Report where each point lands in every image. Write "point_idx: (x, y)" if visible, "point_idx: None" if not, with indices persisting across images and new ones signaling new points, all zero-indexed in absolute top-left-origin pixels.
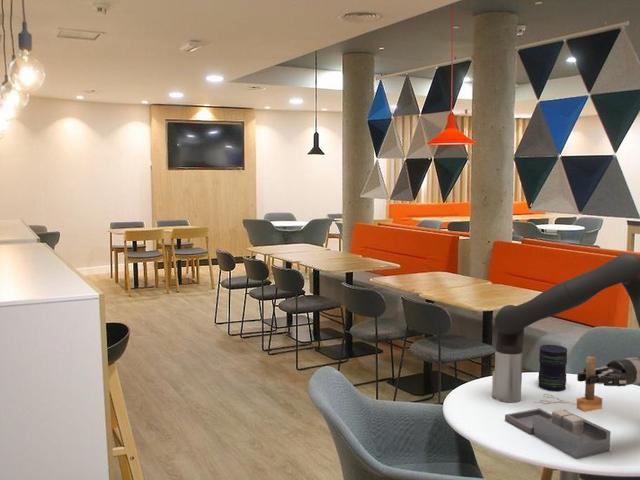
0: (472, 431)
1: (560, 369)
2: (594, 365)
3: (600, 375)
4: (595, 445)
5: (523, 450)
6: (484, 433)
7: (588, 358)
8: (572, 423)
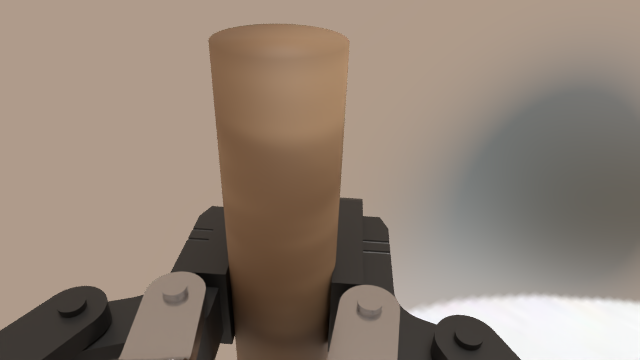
0: (605, 317)
1: None
2: (219, 141)
3: (163, 294)
4: None
5: None
6: (585, 338)
7: (278, 26)
8: None
